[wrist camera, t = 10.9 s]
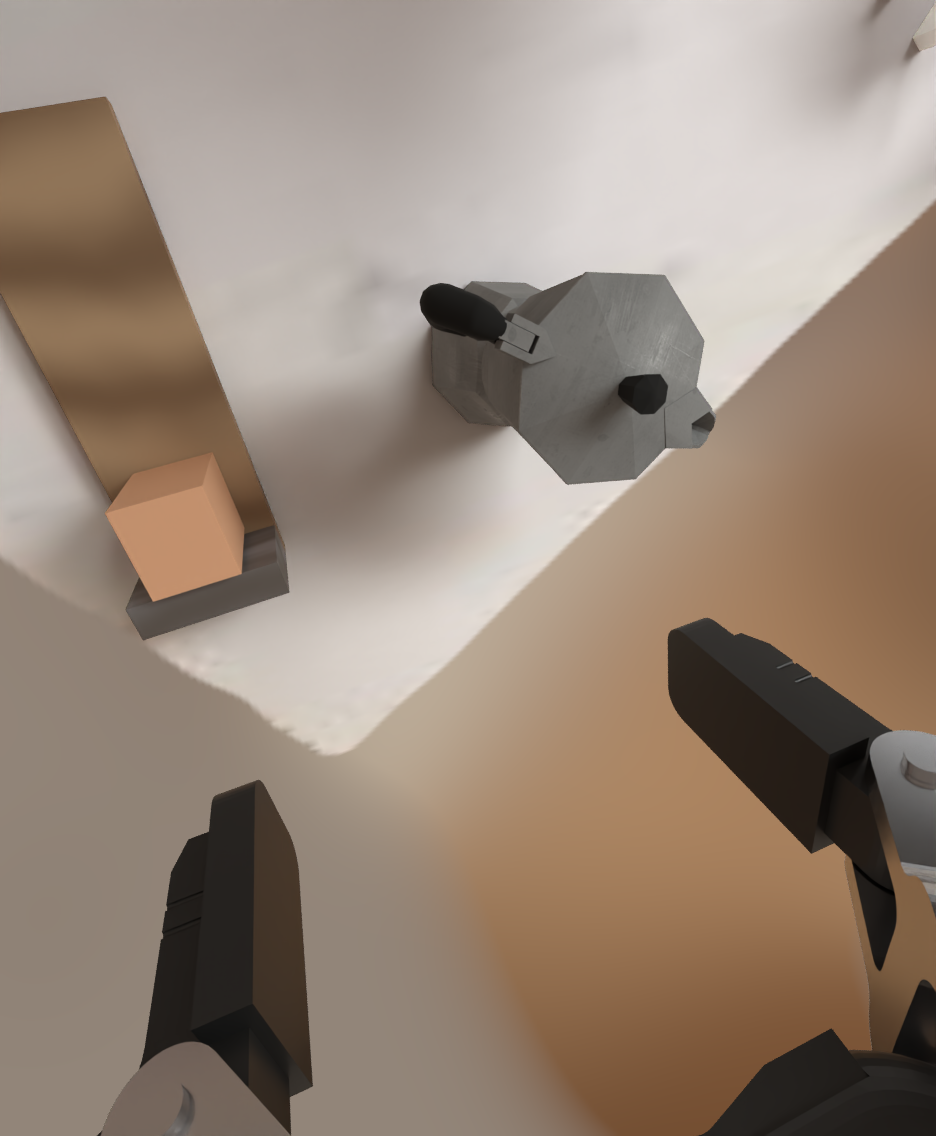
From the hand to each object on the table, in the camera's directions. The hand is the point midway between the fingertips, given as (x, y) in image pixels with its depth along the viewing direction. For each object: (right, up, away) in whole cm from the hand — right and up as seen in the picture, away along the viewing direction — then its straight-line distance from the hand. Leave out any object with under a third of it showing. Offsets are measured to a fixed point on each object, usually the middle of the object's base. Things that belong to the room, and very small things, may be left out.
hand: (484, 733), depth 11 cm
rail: (-19, +14, +22) cm, 32 cm away
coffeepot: (0, +17, +27) cm, 32 cm away
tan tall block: (-17, +7, +24) cm, 30 cm away
